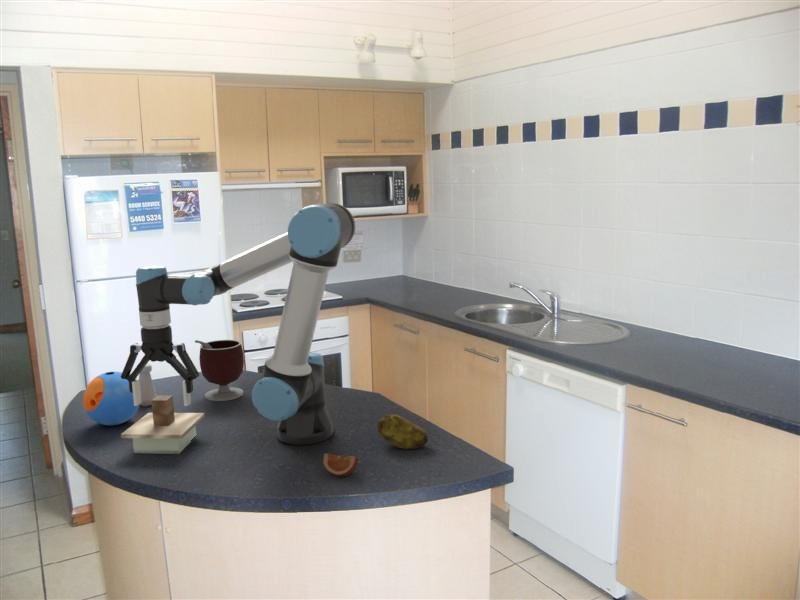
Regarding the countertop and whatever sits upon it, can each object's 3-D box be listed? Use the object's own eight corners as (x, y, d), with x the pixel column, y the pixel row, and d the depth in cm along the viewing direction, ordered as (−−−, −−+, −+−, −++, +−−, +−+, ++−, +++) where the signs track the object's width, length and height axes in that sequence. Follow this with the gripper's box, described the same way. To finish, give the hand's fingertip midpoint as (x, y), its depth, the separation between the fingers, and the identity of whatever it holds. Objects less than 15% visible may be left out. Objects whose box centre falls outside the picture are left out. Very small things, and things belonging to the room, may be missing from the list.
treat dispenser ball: (153, 421, 195) (148, 371, 192) (101, 437, 183) (96, 384, 181) (126, 410, 205) (122, 362, 202) (76, 425, 193) (70, 374, 191)
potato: (413, 456, 167) (412, 426, 165) (372, 445, 174) (371, 416, 173) (431, 445, 173) (430, 416, 172) (391, 435, 181) (390, 407, 179)
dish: (196, 436, 183) (195, 418, 182) (178, 453, 171) (177, 435, 170) (154, 435, 184) (152, 418, 183) (134, 453, 172) (132, 435, 171)
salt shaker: (161, 403, 211) (157, 363, 209) (146, 408, 207) (142, 368, 204) (149, 400, 215) (146, 361, 212) (134, 405, 210) (130, 365, 208)
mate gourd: (232, 385, 228) (229, 329, 224) (253, 394, 218) (250, 335, 214) (190, 396, 218) (185, 336, 214) (210, 406, 208) (205, 344, 204)
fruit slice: (319, 477, 156) (318, 457, 155) (331, 465, 163) (330, 446, 162) (351, 482, 153) (350, 461, 153) (363, 470, 160) (362, 450, 159)
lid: (204, 416, 184) (202, 388, 183) (182, 438, 168) (179, 408, 167) (148, 416, 185) (146, 388, 184) (121, 438, 169) (118, 408, 168)
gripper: (102, 329, 169) (110, 408, 173) (197, 328, 167) (203, 409, 171) (116, 322, 177) (124, 399, 180) (207, 322, 175) (213, 399, 178)
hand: (162, 404), depth 176 cm, fingers open, 13 cm apart
